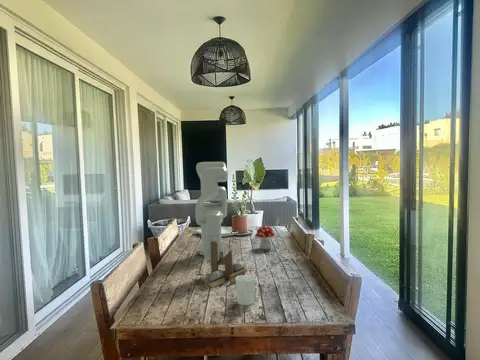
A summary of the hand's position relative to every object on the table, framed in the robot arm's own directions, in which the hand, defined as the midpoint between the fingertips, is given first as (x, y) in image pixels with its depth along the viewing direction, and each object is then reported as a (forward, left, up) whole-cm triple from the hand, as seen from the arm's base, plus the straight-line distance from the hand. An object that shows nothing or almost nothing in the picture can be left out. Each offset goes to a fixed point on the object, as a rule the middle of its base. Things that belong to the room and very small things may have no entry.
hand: (215, 273), depth 177 cm
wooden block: (+6, -1, -1) cm, 6 cm away
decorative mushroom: (-9, +59, -1) cm, 60 cm away
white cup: (+33, -18, -1) cm, 38 cm away
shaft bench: (+10, 0, -1) cm, 10 cm away
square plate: (-67, +75, -2) cm, 101 cm away
